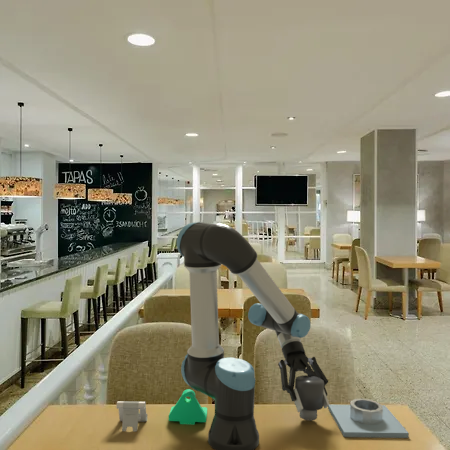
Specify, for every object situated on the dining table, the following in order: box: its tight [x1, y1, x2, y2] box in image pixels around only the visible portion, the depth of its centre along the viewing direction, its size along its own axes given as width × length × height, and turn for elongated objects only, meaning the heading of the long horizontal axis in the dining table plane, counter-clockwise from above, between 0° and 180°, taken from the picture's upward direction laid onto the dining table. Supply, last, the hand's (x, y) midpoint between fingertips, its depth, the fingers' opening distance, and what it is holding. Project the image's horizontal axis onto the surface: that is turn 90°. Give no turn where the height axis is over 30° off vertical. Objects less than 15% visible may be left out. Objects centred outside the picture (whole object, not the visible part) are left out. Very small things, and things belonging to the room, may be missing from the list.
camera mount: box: [168, 388, 208, 425], centre depth 151 cm, size 12×8×10 cm, turn 88°
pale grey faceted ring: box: [349, 398, 383, 425], centre depth 151 cm, size 10×10×4 cm
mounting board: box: [327, 403, 410, 439], centre depth 151 cm, size 20×20×2 cm
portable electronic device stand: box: [116, 400, 148, 432], centre depth 145 cm, size 9×8×8 cm
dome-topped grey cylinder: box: [294, 374, 324, 421], centre depth 151 cm, size 9×9×12 cm
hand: (313, 408), depth 148 cm, fingers closed on dome-topped grey cylinder, 9 cm apart
